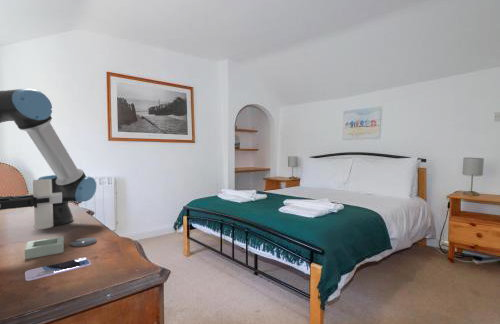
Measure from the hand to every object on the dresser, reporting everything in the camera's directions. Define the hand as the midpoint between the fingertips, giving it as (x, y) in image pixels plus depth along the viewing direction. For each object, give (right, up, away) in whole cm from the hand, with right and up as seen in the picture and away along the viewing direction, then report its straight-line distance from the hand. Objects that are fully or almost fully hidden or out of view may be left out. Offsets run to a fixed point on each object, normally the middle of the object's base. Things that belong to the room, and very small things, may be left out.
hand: (61, 197), depth 94 cm
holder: (-4, -18, -2) cm, 19 cm away
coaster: (+4, -18, +6) cm, 19 cm away
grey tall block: (-4, -10, -3) cm, 11 cm away
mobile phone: (+11, -19, -16) cm, 27 cm away
